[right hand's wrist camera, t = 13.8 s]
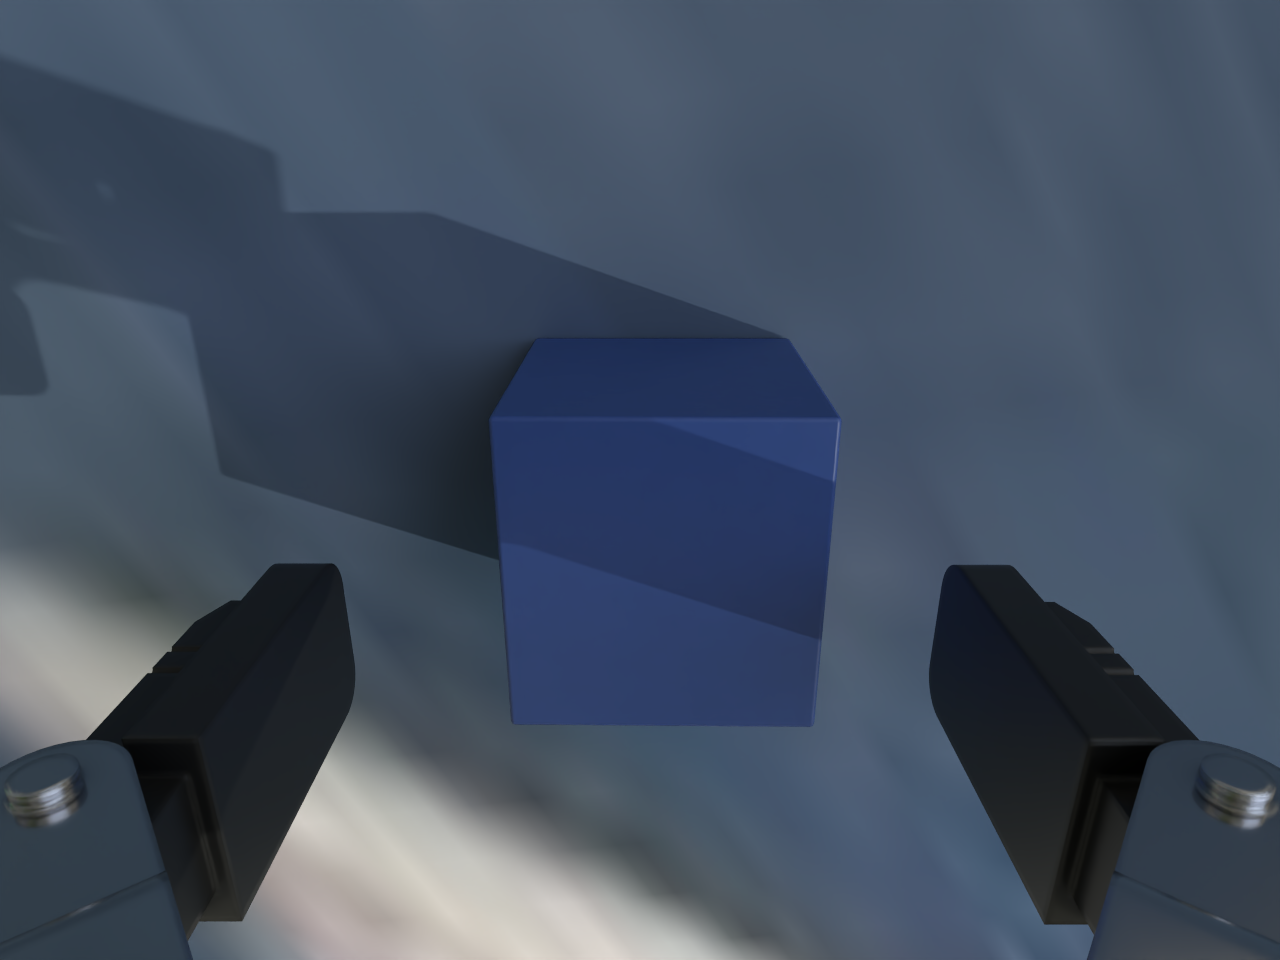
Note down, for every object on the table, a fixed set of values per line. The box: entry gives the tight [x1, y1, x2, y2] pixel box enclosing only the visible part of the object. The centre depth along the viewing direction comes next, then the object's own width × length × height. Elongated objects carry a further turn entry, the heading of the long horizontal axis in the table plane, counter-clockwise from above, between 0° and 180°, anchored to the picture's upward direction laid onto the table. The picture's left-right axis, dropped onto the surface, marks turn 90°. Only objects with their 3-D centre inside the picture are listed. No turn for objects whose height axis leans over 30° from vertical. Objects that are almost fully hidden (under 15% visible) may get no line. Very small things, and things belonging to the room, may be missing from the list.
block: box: [489, 338, 841, 727], centre depth 14 cm, size 5×5×5 cm
